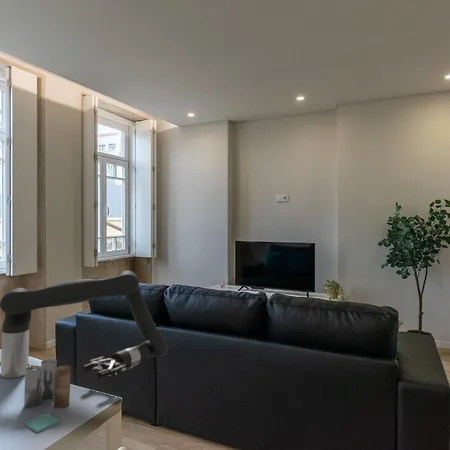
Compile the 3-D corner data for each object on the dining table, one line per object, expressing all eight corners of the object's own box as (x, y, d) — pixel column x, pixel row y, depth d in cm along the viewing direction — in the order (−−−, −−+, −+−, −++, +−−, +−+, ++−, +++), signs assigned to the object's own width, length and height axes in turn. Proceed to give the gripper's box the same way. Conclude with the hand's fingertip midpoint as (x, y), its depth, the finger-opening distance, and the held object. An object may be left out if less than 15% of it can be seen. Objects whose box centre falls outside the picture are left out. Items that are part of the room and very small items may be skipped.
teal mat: (24, 424, 110) (24, 422, 110) (46, 414, 115) (46, 412, 115) (37, 433, 106) (37, 431, 106) (59, 422, 112) (59, 420, 112)
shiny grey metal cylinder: (37, 395, 127) (38, 361, 127) (50, 390, 131) (51, 357, 131) (45, 400, 124) (46, 365, 124) (58, 394, 128) (59, 361, 128)
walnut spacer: (50, 404, 122) (52, 368, 121) (63, 399, 126) (65, 364, 125) (58, 409, 119) (60, 372, 119) (72, 403, 123) (73, 368, 123)
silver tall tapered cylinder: (21, 405, 120) (22, 369, 120) (35, 399, 124) (36, 364, 124) (28, 410, 118) (30, 373, 118) (43, 404, 122) (44, 368, 122)
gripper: (114, 345, 149) (78, 357, 135) (138, 354, 141) (103, 367, 127) (113, 363, 149) (78, 377, 135) (138, 373, 141) (103, 388, 127)
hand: (90, 372), depth 131 cm, fingers open, 8 cm apart
